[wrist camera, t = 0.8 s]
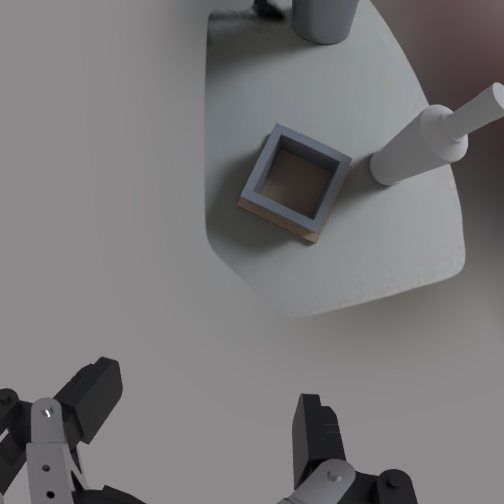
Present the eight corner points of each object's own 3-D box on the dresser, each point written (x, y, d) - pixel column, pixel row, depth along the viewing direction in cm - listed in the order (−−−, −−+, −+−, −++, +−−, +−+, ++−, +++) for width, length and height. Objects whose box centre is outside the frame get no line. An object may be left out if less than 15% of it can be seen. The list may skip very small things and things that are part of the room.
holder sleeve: (273, 132, 36) (271, 112, 29) (349, 168, 36) (363, 155, 29) (237, 206, 37) (227, 200, 30) (315, 243, 37) (322, 246, 30)
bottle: (361, 157, 35) (459, 65, 10) (391, 144, 35) (500, 58, 10) (378, 192, 35) (503, 145, 11) (408, 178, 35) (537, 127, 10)
